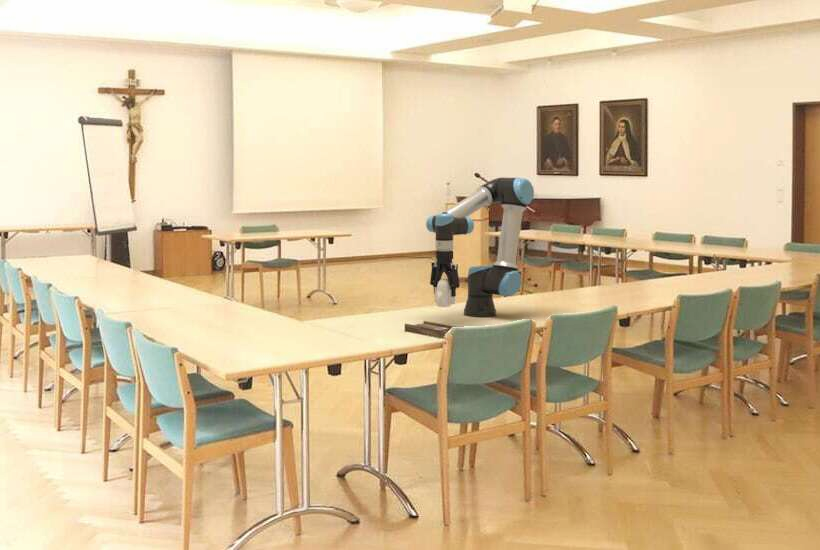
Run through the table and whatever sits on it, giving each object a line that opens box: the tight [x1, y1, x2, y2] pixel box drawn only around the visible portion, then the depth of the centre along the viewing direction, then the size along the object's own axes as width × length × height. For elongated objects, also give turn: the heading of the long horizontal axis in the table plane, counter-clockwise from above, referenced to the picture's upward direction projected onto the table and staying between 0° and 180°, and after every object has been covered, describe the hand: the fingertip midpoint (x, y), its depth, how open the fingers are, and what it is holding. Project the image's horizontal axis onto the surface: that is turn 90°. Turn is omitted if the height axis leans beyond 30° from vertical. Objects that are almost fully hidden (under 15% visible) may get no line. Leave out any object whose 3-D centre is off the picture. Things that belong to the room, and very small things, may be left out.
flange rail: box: [404, 320, 456, 339], centre depth 370 cm, size 12×22×4 cm, turn 43°
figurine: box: [435, 278, 452, 308], centre depth 382 cm, size 7×8×12 cm
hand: (444, 302), depth 383 cm, fingers closed on figurine, 8 cm apart
